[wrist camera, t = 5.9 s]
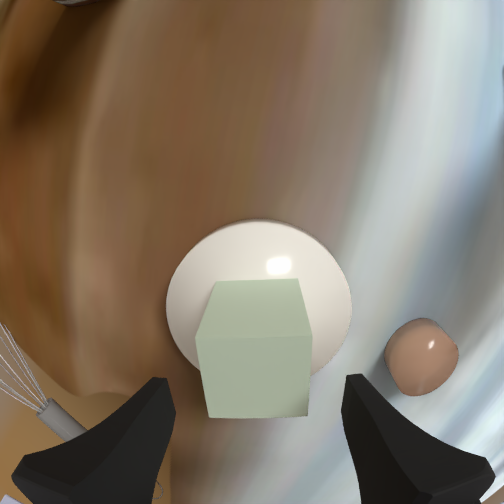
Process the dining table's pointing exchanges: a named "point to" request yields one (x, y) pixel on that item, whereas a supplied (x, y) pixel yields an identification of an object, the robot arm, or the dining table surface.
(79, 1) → the food container
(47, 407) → the kitchen whisk
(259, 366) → the sage block
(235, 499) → the dining table surface
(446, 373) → the tan rounded knob
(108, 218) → the dining table surface
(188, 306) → the stand
